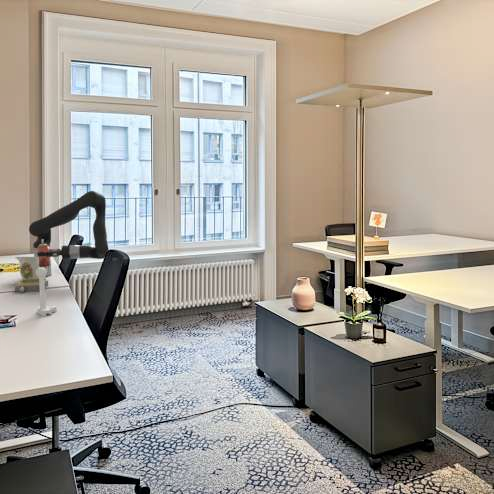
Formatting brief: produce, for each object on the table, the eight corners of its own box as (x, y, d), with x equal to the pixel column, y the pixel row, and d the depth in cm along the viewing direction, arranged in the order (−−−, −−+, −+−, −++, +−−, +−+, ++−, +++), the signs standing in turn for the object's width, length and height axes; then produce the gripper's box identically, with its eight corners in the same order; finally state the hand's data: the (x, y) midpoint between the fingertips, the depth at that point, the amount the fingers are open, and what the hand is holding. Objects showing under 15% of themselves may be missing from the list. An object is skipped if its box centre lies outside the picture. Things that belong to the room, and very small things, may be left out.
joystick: (35, 311, 225) (33, 266, 222) (53, 308, 229) (51, 264, 226) (40, 316, 216) (37, 269, 213) (59, 314, 220) (56, 267, 217)
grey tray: (21, 287, 277) (20, 279, 276) (48, 285, 280) (47, 278, 279) (13, 293, 261) (12, 285, 261) (42, 292, 264) (42, 284, 264)
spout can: (40, 265, 282) (38, 238, 280) (50, 264, 283) (49, 238, 281) (38, 267, 276) (36, 239, 274) (49, 266, 278) (47, 239, 276)
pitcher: (45, 282, 290) (43, 258, 289) (12, 282, 289) (11, 258, 288) (51, 278, 301) (50, 255, 300) (20, 279, 300) (18, 255, 299)
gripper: (72, 243, 288) (40, 245, 285) (69, 246, 274) (35, 248, 271) (73, 257, 289) (41, 258, 286) (70, 260, 275) (36, 262, 272)
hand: (38, 253), depth 278 cm, fingers closed on spout can, 5 cm apart
